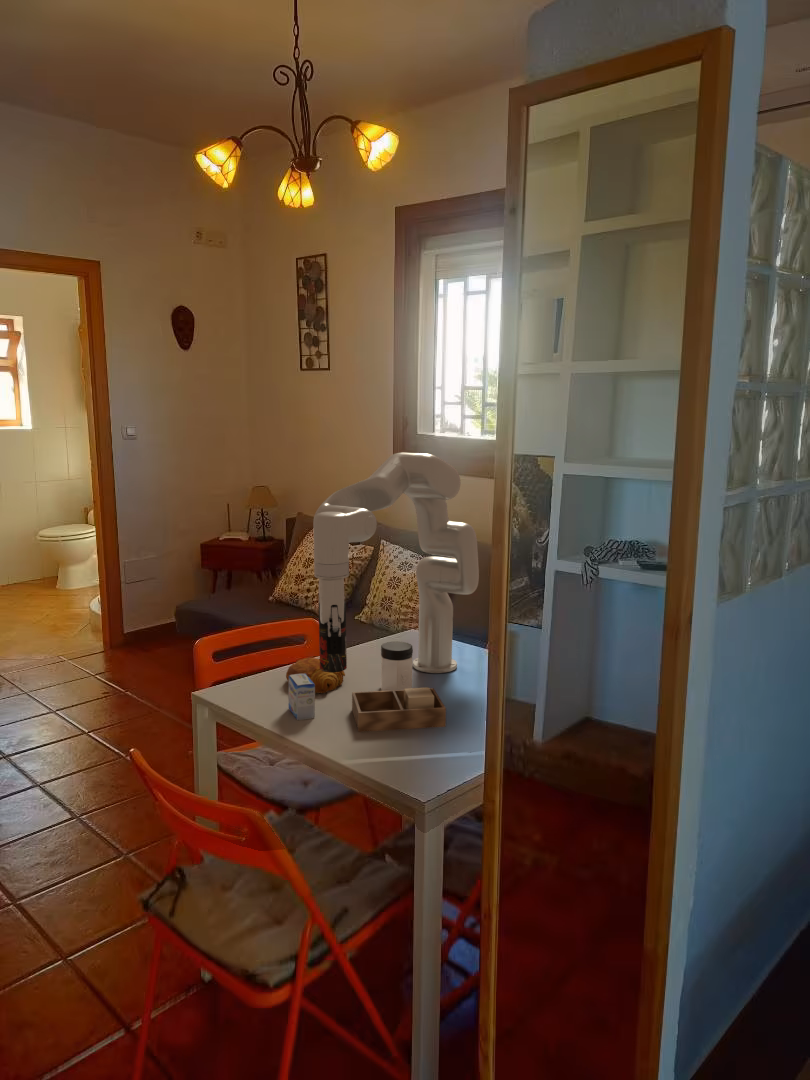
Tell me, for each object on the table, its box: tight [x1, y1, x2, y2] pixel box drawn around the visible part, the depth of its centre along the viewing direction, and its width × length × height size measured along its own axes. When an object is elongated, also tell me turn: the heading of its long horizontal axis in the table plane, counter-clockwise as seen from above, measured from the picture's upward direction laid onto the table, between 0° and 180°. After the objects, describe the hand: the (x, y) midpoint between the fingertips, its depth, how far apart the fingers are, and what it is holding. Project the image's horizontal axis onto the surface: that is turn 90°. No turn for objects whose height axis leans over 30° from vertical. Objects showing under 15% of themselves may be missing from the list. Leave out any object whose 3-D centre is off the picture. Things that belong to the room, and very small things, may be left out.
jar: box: [380, 641, 414, 691], centre depth 204 cm, size 9×8×12 cm
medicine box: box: [288, 674, 316, 721], centre depth 188 cm, size 8×4×9 cm, turn 23°
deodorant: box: [318, 600, 348, 673], centre depth 174 cm, size 6×6×15 cm
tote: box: [351, 687, 447, 733], centre depth 185 cm, size 20×13×5 cm, turn 100°
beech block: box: [404, 686, 434, 710], centre depth 186 cm, size 6×6×6 cm
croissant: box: [285, 657, 346, 694], centre depth 208 cm, size 14×16×8 cm
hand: (333, 647), depth 174 cm, fingers closed on deodorant, 5 cm apart
